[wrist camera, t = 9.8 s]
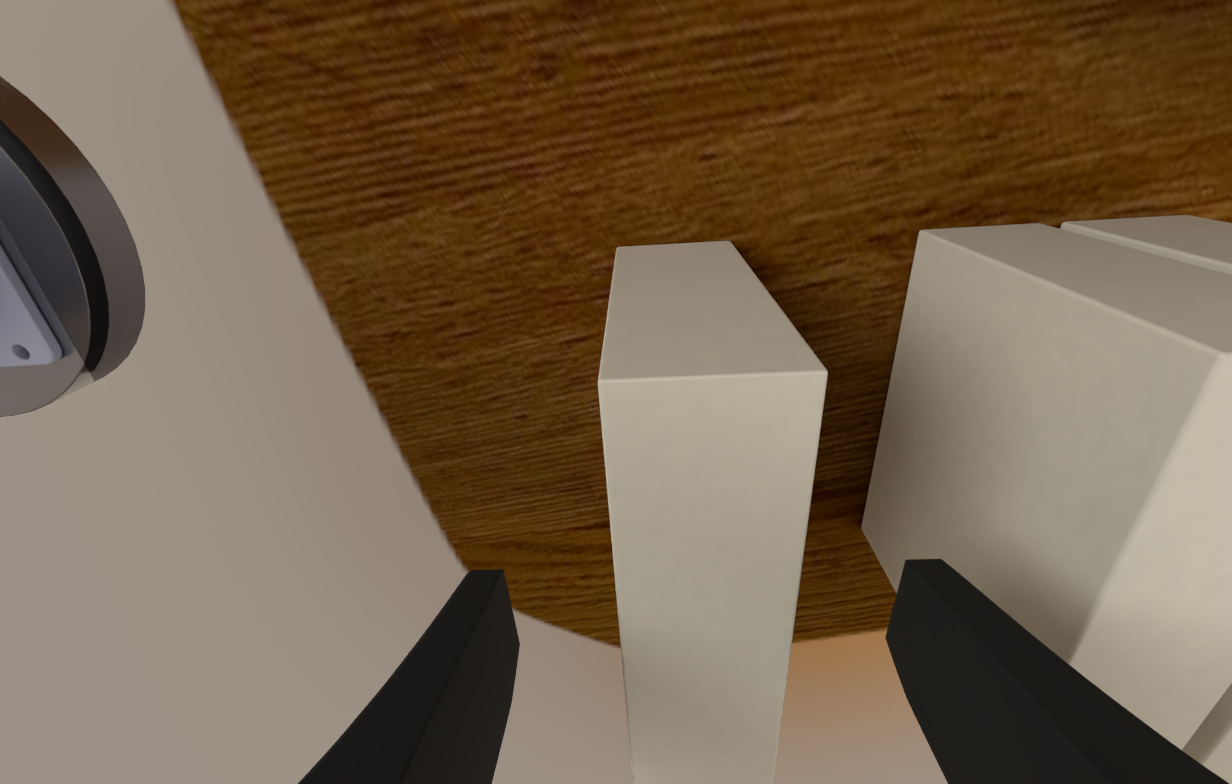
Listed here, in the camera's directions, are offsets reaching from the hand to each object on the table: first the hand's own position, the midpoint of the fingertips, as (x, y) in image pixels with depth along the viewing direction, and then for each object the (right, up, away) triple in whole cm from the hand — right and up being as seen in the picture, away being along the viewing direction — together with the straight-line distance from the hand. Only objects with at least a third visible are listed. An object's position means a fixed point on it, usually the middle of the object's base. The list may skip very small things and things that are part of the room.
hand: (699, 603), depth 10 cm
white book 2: (+8, +4, +6) cm, 11 cm away
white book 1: (0, +3, +6) cm, 7 cm away
